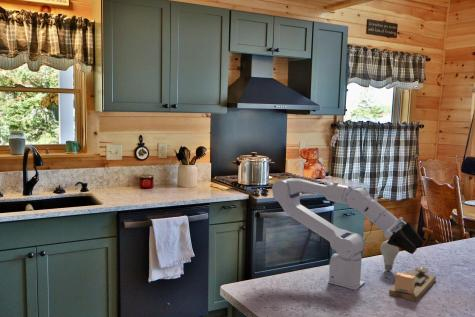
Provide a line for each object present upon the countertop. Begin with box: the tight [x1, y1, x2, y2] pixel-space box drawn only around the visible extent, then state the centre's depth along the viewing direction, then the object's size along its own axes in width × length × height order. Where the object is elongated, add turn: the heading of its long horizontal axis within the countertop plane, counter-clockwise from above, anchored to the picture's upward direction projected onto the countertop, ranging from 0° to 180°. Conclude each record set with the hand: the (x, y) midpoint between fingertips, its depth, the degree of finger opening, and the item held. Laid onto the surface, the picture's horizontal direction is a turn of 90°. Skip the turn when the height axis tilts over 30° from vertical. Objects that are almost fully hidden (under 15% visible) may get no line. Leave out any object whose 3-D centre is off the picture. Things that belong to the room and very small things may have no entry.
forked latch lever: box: [394, 271, 426, 294], centre depth 139 cm, size 5×16×5 cm, turn 143°
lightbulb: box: [379, 239, 400, 272], centre depth 155 cm, size 6×6×11 cm
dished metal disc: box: [414, 265, 429, 276], centre depth 149 cm, size 4×4×2 cm
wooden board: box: [388, 269, 437, 303], centre depth 142 cm, size 8×22×2 cm, turn 143°
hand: (418, 248), depth 130 cm, fingers open, 7 cm apart
